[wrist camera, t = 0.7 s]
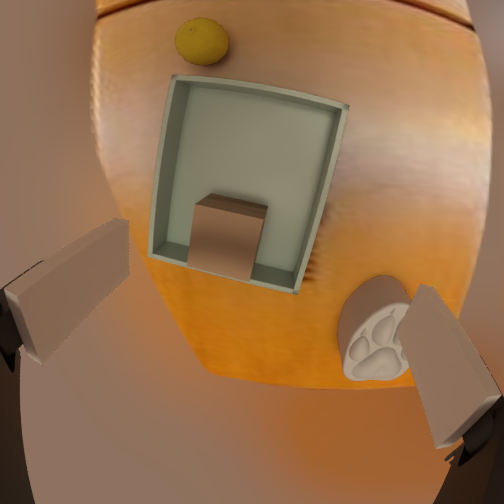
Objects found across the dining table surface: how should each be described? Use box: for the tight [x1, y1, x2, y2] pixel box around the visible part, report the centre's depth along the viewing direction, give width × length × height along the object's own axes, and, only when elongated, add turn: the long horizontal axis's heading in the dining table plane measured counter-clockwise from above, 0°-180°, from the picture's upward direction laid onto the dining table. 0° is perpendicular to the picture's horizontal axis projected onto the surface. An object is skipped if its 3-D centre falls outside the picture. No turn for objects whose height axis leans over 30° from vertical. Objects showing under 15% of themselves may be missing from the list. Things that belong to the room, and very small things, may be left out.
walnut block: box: [187, 193, 268, 282], centre depth 31 cm, size 7×7×6 cm
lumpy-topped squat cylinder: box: [337, 275, 412, 381], centre depth 33 cm, size 10×13×9 cm
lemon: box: [175, 18, 229, 65], centre depth 23 cm, size 6×6×8 cm
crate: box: [148, 75, 349, 295], centre depth 30 cm, size 21×18×5 cm
